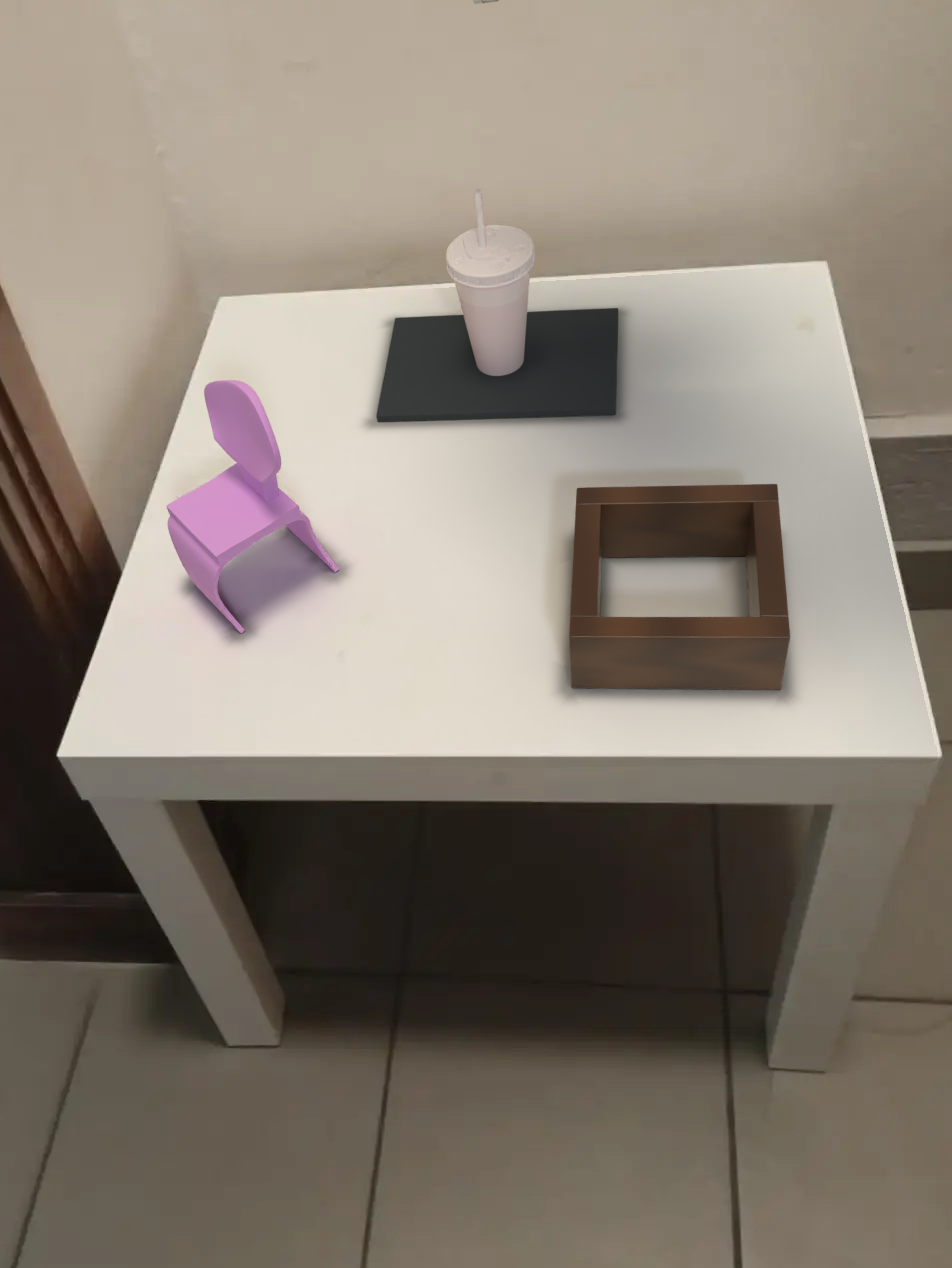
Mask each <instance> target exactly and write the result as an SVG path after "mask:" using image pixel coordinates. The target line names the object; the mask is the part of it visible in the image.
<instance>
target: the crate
mask: <svg viewBox="0 0 952 1268" xmlns="http://www.w3.org/2000/svg"><path fill="white" fill-rule="evenodd" d="M575 491H576V494H575V511H574V530H573V531H574V532H573V550H572V551H573V553H572V567H571V568H572V570H571V571H572V572H571V590H570V607H569V608H570V611H569V629H568V630H569V631H568V645H569V646H568V647H569V665H570V685H571V688H572V689H650V690H651V689H655V690H656V689H657V690H658V689H660V690H664V689H665V690H667V689H668V690H669V689H671V690H672V689H673V690H757V691H758V690H765V691H766V690H769V691H771V690H772V691H773V690H775V691H776V690H777V691H779V690H781V689H782V687H783V686H782V685H783V680H784V674H785V669H786V662H787V657H788V652H789V646H790V641H791V631H790V621H789V619H790V618H789V608H788V607H789V606H788V595H787V584H786V583H787V582H786V571H785V560H784V559H785V558H784V547H783V535H782V533H783V532H782V523H781V512H780V511H781V510H780V499H779V498H780V497H779V485H778V483H749V484H748V483H747V484H746V483H745V484H744V483H743V484H699V485H698V484H696V485H693V484H692V485H645V486H643V485H641V486H636V485H635V486H587V487H586V486H585V487H576V490H575ZM674 557H675V558H676V557H678V558H681V557H683V558H684V557H685V558H686V557H687V558H688V557H691V558H692V557H695V558H696V557H745V563H746V580H747V581H746V582H747V583H746V584H747V598H748V614H749V616H600V615H601V588H602V585H601V584H602V558H674Z"/></svg>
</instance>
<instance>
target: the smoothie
mask: <svg viewBox="0 0 952 1268" xmlns="http://www.w3.org/2000/svg"><path fill="white" fill-rule="evenodd" d="M483 198H484V197H483V190H482V188H475V189H474V190H473V199H474V208H475V217H476V218H475V219H476V227H474V228H471V229H468V230H466V231H465V232H462V233H461V234H459V235H458V236H457V237H455V238H454V239H453V240H452V241H451V242H450V243H449V245H448V247H447V249H446V252H445V260H446V271H447V273H448V275H449V276H450V277H451V278H452V280H453V281H454V286H455V290H456V293H457V297H458V301H459V304H460V307H461V311H462V315H463V316H464V319H465V323H466V327H467V331H468V334H469V338H470V342H471V346H472V349H473V353H474V357H475V361H476V364H477V367H478V369H479V370H480V371H481V372H483V373H485V374H487V375H491V376H503V375H507V374H510V373H513V372H514V371H516V370H517V369H519V368H520V367H521V365H522V364H523V361H524V350H525V335H526V321H527V312H528V305H529V293H530V292H529V291H530V281H531V280H530V279H531V270H532V268H533V267H534V264H535V262H536V252H535V245H534V241H533V239H532V238H531V236H530V235H529V234H528V233H527V232H526V231H524V230H523V229H520V228H518V227H515V226H512V225H507V224H487V225H486V221H485V220H486V219H485V209H484V199H483Z"/></svg>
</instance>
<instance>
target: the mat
mask: <svg viewBox="0 0 952 1268" xmlns="http://www.w3.org/2000/svg"><path fill="white" fill-rule="evenodd" d="M618 343H619V308H618V307H607V308H585V309H563V310H562V309H561V310H542V311H541V310H540V311H539V310H537V311H527V321H526V335H525V350H524V361H523V364H522V365H521V367H520V368H519V369H517V370H516V371H514V372H513V373H510V374H507V375H503V376H491V375H487V374H485V373H483V372H481V371H480V370H479V369H478V367H477V364H476V361H475V357H474V353H473V349H472V346H471V342H470V338H469V334H468V331H467V327H466V323H465V319H464V316H463V314H449V315H428V316H427V315H426V316H406V317H405V316H404V317H394V321H393V327H392V333H391V338H390V343H389V348H388V354H387V358H386V364H385V369H384V375H383V380H382V385H381V390H380V393H379V394H380V395H379V400H378V405H377V411H376V416H375V417H376V421H377V422H378V423H379V422H413V421H414V422H415V421H445V420H452V421H453V420H478V419H479V420H483V419H485V420H486V419H515V418H516V419H517V418H550V417H553V418H555V417H583V416H585V417H586V416H615V415H616V414H617V384H618V383H617V381H618V348H619V347H618V346H619V345H618Z"/></svg>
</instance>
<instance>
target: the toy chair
mask: <svg viewBox="0 0 952 1268" xmlns="http://www.w3.org/2000/svg"><path fill="white" fill-rule="evenodd" d="M203 395H204V402H205V406H206V410H207V414H208V418H209V422H210V426H211V430H212V435H213V439H214V441H215V442H216V443H217V444H218V445H219V447H221V449H222V450H223V451H224V452H225V453H226V454H227V455H228V456H229V457H230V458H231V459H232V460H233V461H234V462H235V463H234V464H232V465H231V466H229V467H228V468H226V469H225V470H224V471H222V472H221V473H219V474H218V475H216V476H215V477H213V478H212V479H210V480H209V481H207V482H205V483H204V484H202V485H200V486H199V487H197V488H195V489H192V490H190V491H189V492H187V493H185V494H183V495H182V496H179V497H178V498H177V499H175V500H173V501H171V502H170V503H168V504H166V509H167V512H168V514H169V517H168V519H167V530H168V534H169V536H170V540H171V542H172V545H173V547H174V550H175V552H176V555H177V556H178V559H179V561H180V562H181V565H182V567H183V568H184V570H185V572H186V574H187V575H188V577H189V578H190V580H191V581H192V583H193V584H194V586H196V587H197V588H198V590H199V591H200V592H201V593H202V594H203V595H204V597H206V598H207V599H208V600H209V601H210V602H211V603H212V605H214V606H215V608H216V609H217V610H219V612H220V613H221V614H222V615H223V617H225V619H227V620H228V621H229V622H230V624H231V625H232V626H233V627H234V628H235V630H237V631H238V632H239V634H240V633H241V634H242V633H244V632H245V631H246V630H245V628H244V627H243V626H242V624H240V622H238V620H237V619H236V618H235V617H234V616H233V614H232V613H231V611H229V610H228V608H227V607H226V605H225V604H224V602H223V601H222V599H221V597H220V595H219V589H218V586H219V585H218V584H219V579H220V577H221V573H222V570H223V569H224V568H225V566H227V564H228V563H230V562H231V561H232V560H234V559H235V558H236V557H238V556H239V555H241V554H242V553H243V552H244V551H245V550H248V548H250V547H252V546H253V545H254V544H256V543H257V542H259V541H260V540H262V539H263V538H265V537H267V536H269V535H271V534H272V533H274V532H276V531H278V530H280V529H282V528H284V527H286V528H287V529H288V530H289V531H291V533H293V534H294V535H295V536H296V537H297V538H298V539H299V540H300V541H301V542H302V543H303V544H304V545H305V546H306V547H308V548H309V549H310V550H311V552H313V553H314V554H315V555H316V556H317V557H318V558H319V559H320V560H321V561H322V562H323V563H325V565H327V567H329V569H331V570H332V571H333V572H334V573H336V572H338V571H339V570H340V569H339V567H338V565H337V564H336V563H335V562H334V560H333V559H332V557H330V555H329V554H328V552H327V551H326V550H325V548H324V547H323V546H322V544H321V543H320V541H319V540H318V538H317V536H316V535H315V533H314V531H313V527H312V523H311V520H310V519H309V517H308V516H307V515H306V514H305V513H304V512H303V511H302V510H301V509H300V506H299V504H297V502H295V500H293V499H292V498H291V497H290V496H289V495H288V494H286V493H285V492H284V491H283V490H282V489H280V488H279V484H278V477H277V474H278V473H279V472H280V470H281V469H282V456H281V453H280V452H281V451H280V448H279V445H278V442H277V439H276V435H275V433H274V430H273V427H272V424H271V421H270V419H269V417H268V415H267V412H266V410H265V408H264V407H265V406H264V405H263V403H262V401H261V399H260V397H259V395H258V394H257V392H256V391H255V390H254V388H252V386H250V385H249V384H247V383H246V382H244V381H241V380H237V379H221V380H214V381H211V382H208V383H207V384H206V385H205V387H204V389H203Z"/></svg>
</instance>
